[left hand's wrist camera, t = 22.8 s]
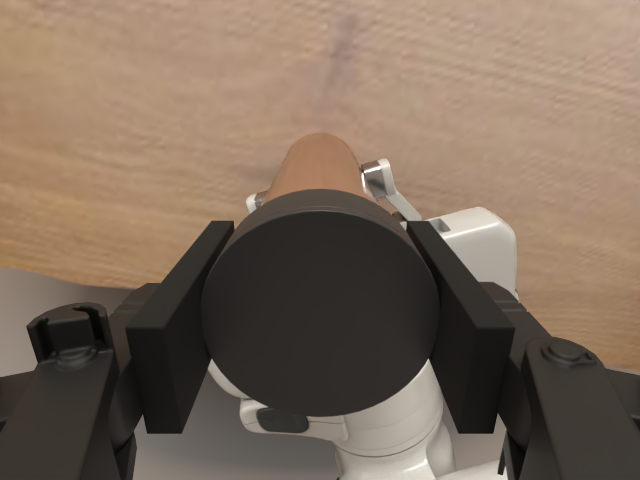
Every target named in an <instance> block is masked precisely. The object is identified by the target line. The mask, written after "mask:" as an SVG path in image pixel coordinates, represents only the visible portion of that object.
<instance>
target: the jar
mask: <svg viewBox="0 0 640 480" xmlns="http://www.w3.org/2000/svg"><path fill="white" fill-rule="evenodd" d="M307 189H333V190H340V191H344V192H349V193H353V194H355V195H358V196H361V197H364V198H366V199H368V200H370V201H372V202H374V203H376V204H377V205H379V203H378V201H377V199H376V197H375V195H374V193H373V191H372V189H371V187H370V185H369V183H368V181H367V179H366V178H365V176H364V174H363V172H362V170H361V168H360V166H359V164H358V162H357V160H356V158H355V156H354V154H353V152H352V151H351V149H350V148H349V146H348V145H347V144H346V143H345V142H344V141H342V140H341V139H339V138H338V137H336V136H333V135H330V134H326V133H315V134H310V135H307V136H305V137H303V138H301V139H299V140H298V141H297V142H296V143H294V145H293V146H292V147H291V148H290V150H289V151H288V153H287V155H286V157H285V159H284V161H283V163H282V165H281V167H280V169H279V171H278V173H277V174H276V176H275V178H274V180H273V182H272V184H271V186H270V188H269V190H268V192H267V194H266V196H265V198H264V200H263V202H262V204H261V206H262V205H263V204H265V203H266V202H268V201H270V200H272V199H275V198H277V197H279V196H282V195H285V194H288V193H291V192H295V191H301V190H307ZM379 206H380V205H379Z"/></svg>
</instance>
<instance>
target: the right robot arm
mask: <svg viewBox="0 0 640 480" xmlns="http://www.w3.org/2000/svg"><path fill="white" fill-rule="evenodd" d="M361 169H362V172H363V174H364V176H365V178H366V179H367V181H368V183H369V185H370V187H371V189H372V191H373V193H374V195H375V197H376V198H380V197H384V196H385V198H386V199H387V200H388V201H389V202H390V203H391V204H392V205H393V206H394V207H395V208H396V209H397V210H398V212H394V213H393V214H392V216H393V217H394V218H395V219H396V220H397V221H398V222H399V223H400V224H401V225H402V227H403V228H404V229H405V230H406V225H407V221H422V217H421V216H420V215H419V213H418V212H417V211H416V210H415V208H414V207H413V206H412V205H411V204H410V203H409V202H408V201H407V200H406V199H405V198H404V197H403V196H402V195H401V194H400V192H399V191H398V190H397V189H396V188H395V186H394V181H393V176H392V172H391V167H390V164H389V162H388V160H387V159H386V158H383V159H380V160H376V161H373V162H369V163H366V164H362V165H361ZM267 192H268V191H264V192H261V193H256V194H253V195H250V196H249V197H248V198H247V200H246V204H247V209H248V212H249V214H251V213H252V212H253V211H254V210H255V209H257V208H258V207H260V206H261V204H262V202H263V200H264V198H265V196H266V194H267ZM423 221H429V222H430V223H431V225H432V226H433V227H434V228H435V229H436V231H437V232H438V233H439V234H440V236H441V237H442V238H443V239H444V240H445V242H446V243H447V244H448V245H449V247H450V248H451V249H452V250H453V251H454V253H455V254H456V255H457V256H458V258H459V259H460V260H461V261H462V262H463V264H464V265H465V266H466V267H467V269H468V270H469V271H470V272H471V273H472V275H473V276H474V277H475V278H476V280H477V281H478V282H494V283H496V284H498V285H500V286H501V287H503V288H505V289H507V290H508V291H510V292H511V294H512V295H513V296H514V297H515V298H516V299H517V300H518V302H519V297H518V293H517V290H516V289H515V288H516V273H517V248H516V237H515V234H514V231H513V230H512V228H511V227H510V226H509V225H508V224H507V223H506V222H505V221H503V220H502V219H501V218H500V217H498V216H497V215H495V214H493V213H492V212H490V211H488V210H486V209H485V208H482V207H474V208H470V209H466V210H462V211H458V212H455V213H451V214H447V215H443V216H439V217H435V218H431V219H427V220H423ZM208 371H209V372H210V374H211V375H212V377H213V378H214V380H215V381H216V382H217V383H218V384H219V386H220V387H221V388H223V389H224V390H225V391H226V392H228V393H229V394H231V395H234V396H236V397H240V398H241V403H240V418H241V421H242V423H243V425H244V427H245V428H246V429H247V430H249V431H251V432H255V433H270V434H289V435H300V436H308V437H315V438H320V439H324V440H329V441H331V443H332V444H333V445H334V447H335V460H336V465H337V469H338V472H339V475H340V478H339V477H338V478H337V480H508V478H507V471H506V466H505V469H504V473H503V475H499V474H497V472H498V465H499V461H500V458H499V459H496V460H493V461H490V462H486V463H483V464H480V465H476V466H473V467H470V468H466V469H463V470H460V471H457V470H456V463H455V457H454V451H453V446H452V441H451V438H450V435H449V432H448V430H447V427H446V426H445V424H444V422H443V421H442V416H443V399H442V394H441V389H440V386H439V383H438V381H437V378H436V376H435V373H434V371H433V368H432V366H431V363H430V361H429V358H428V360H427V362H426V364H425V365H424V367H423V368H422V369H421V371H420V372H419V373H418V375H417V376H416V377H415V378H414V379H413V380H412V381H411V382H410V383H409V384H408V385H407V386H406V387H404V388H403V389H402V390H401V391H399V392H398V393H397V394H395V395H394V396H392V397H390V398H389V399H387V400H386V401H384V402H382V403H380V404H377V405H375V406H373V407H371V408H368V409H365V410H362V411H359V412H355V413H351V414H347V415H340V416H333V417H309V416H300V415H294V414H289V413H285V412H282V411H278V410H275V409H273V408H270V407H267V406H265V405H263V404H261V403H259V402H257V401H255V400H253V399H251V398H250V397H248V396H247V395H245V394H244V393H242V392H241V391H240V390H238V389H237V388H236V387H235V386H234V385H233V384H232V383H230V382H229V381H228V379H227V378H226V377H225V376H224V375H223V374H222V373H221V372H220V370H219V369H218V367H217V366H216V364H215V363H214V362H213V360H212V359H211V362H210V364H209V367H208Z"/></svg>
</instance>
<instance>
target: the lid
mask: <svg viewBox="0 0 640 480" xmlns="http://www.w3.org/2000/svg"><path fill="white" fill-rule="evenodd" d="M200 312H201V320H202V328H203V336H204V342H205V344H206V347H207V350H208V352H209V354H210V356H211V358H212V360H213V362H214V363H215V364H216V366H217V367H218V369H219V370H220V372H221V373H222V374H223V375H224V376H225V377H226V378H227V379H228V381H229V382H230V383H232V384H233V385H234V386H235V387H236V388H237V389H238V390H240V391H241V392H242V393H244V394H245V395H247V396H248V397H250V398H251V399H253V400H255V401H257V402H259V403H261V404H263V405H265V406H267V407H270V408H273V409H275V410H278V411H282V412H285V413H289V414H294V415H300V416H309V417H333V416H340V415H347V414H351V413H355V412H359V411H362V410H365V409H368V408H371V407H373V406H375V405H377V404H380V403H382V402H384V401H386V400H387V399H389V398H390V397H392V396H394V395H395V394H397V393H398V392H399V391H401V390H402V389H403V388H404V387H406V386H407V385H408V384H409V383H410V382H411V381H412V380H413V379H414V378H415V377H416V376H417V375H418V373H419V372H420V371H421V369H422V368H423V367H424V365H425V364H426V362H427V360H428V358H429V357H430V355H431V353H432V351H433V348H434V345H435V343H436V339H437V332H438V325H439V316H440V299H439V295H438V290H437V286H436V283H435V281H434V279H433V276H432V274H431V271H430V270H429V268H428V266H427V265H426V263H425V262H424V260H423V258H422V257H421V255H420V253H419V252H418V250H417V248H416V247H415V245H414V243H413V242H412V240H411V238H410V237H409V235H408V233H407V232H406V230H405V229H404V228H403V227H402V225H401V224H400V223H399V222H398V221H397V220H396V219H395V218H394V217H393V216H392V215H391V214H390V213H389V212H388V211H386V210H385V209H383V208H382V207H380V206H379V205H377V204H376V203H374V202H372V201H370V200H368V199H366V198H364V197H361V196H358V195H355V194H353V193H349V192H344V191H340V190H333V189H307V190H301V191H295V192H291V193H288V194H285V195H282V196H279V197H277V198H275V199H272V200H270V201H268V202H266V203H265V204H263V205H262V206H260V207H258V208H257V209H255V210H254V211H253V212H252V213H251V214H249V215H248V216H247V217H246V218H245V219H244V220H243V221H242V222H241V223H240V225H239V226H238V227H237V228H236V229H235V231H234V232H233V234H232V236H231V237H230V239H229V240H228V242H227V243H226V245H225V247H224V248H223V250H222V252H221V253H220V255H219V257H218V258H217V260H216V262H215V263H214V265H213V267H212V268H211V270H210V272H209V275H208V277H207V279H206V281H205V284H204V288H203V291H202V295H201V303H200Z"/></svg>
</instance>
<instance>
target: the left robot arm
mask: <svg viewBox="0 0 640 480" xmlns="http://www.w3.org/2000/svg"><path fill="white" fill-rule="evenodd" d="M233 232H234V221H211V223H210V224H209V225H208V226H207V228H206V229H205V230H204V231H203V232H202V234H201V235H200V236H199V237H198V239H197V240H196V241H195V242H194V243H193V245H192V246H191V247H190V248H189V250H188V251H187V252H186V253H185V254H184V256H183V257H182V258H181V259H180V261H179V262H178V263H177V264H176V265H175V267H174V268H173V269H172V270H171V272H170V273H169V274H168V275H167V276H166V278H165V279H164V280H163V281H162V283H147V284H145V285H143V286H142V287H140V288H138V289H136V290H135V291H133V292H131V294H130V295H129V296H128V297H127V298H126V299H125V300H124V301H123V302H122V304H121V305H119V307H118V308H117V309H116V310H115V311H114V313H112V314H111V315H110V316H109V317H108V316H107V311H106V308H105V307H103V306H102V305H100V304H96V303H90V302H88V303H75V304H70V305H65V306H61V307H58V308H55V309H53V310H50V311H47V312H45V313H43V314H42V315H40V316H38V317H36V318H34V319H33V320H32V321H31V322H30V323H29V324H28V325H27V326H26V327H27V330H28V334H29V337H30V340H31V343H32V346H33V349H34V352H35V356H36V359H37V362H38V364H37V366H36V368H35V370H34V371H30V372H25V373H20V374H15V375H10V376H5V377H0V480H132V479H133V472H134V465H135V457H136V450H137V446H136V439H135V434H134V429H135V427H136V426H137V424H138V422H139V420H140V418H141V416H142V415H143V416H144V421H145V426H146V430H147V433H148V434H181V433H182V432H183V429H184V426H185V424H186V422H187V419H188V417H189V414H190V412H191V409H192V407H193V404H194V402H195V399H196V397H197V394H198V392H199V389H200V387H201V384H202V382H203V379H204V377H205V374H206V372H207V369H208V367H209V364H210V362H211V359H212V358H211V356H210V354H209V352H208V350H207V347H206V344H205V342H204V336H203V328H202V320H201V312H200V303H201V295H202V291H203V288H204V284H205V281H206V279H207V277H208V275H209V272H210V270H211V268H212V267H213V265H214V263H215V262H216V260H217V258H218V257H219V255H220V253H221V252H222V250H223V248H224V247H225V245H226V243H227V242H228V240H229V239H230V237H231V236H232V234H233ZM406 232H407V233H408V235H409V237H410V238H411V240H412V242H413V243H414V245H415V247H416V248H417V250H418V252H419V253H420V255H421V257H422V258H423V260H424V262H425V263H426V265H427V266H428V268H429V270H430V271H431V274H432V276H433V279H434V281H435V283H436V286H437V290H438V295H439V299H440V316H439V325H438V332H437V339H436V343H435V345H434V348H433V351H432V353H431V355H430V357H429V361H430V363H431V366H432V368H433V371H434V373H435V376H436V378H437V381H438V383H439V386H440V388H441V391H442V393H443V396H444V398H445V401H446V403H447V406H448V408H449V411H450V413H451V416H452V418H453V421H454V423H455V426H456V428H457V431H458V433H460V434H461V433H462V434H493V432H494V428H495V423H496V418H497V413H498V414H499V415H500V417H501V419H502V421H503V423H504V425H505V426H506V428H507V430H506V435H505V439H504V443H503V448H502V452H501V456H500V461H499V465H498V472H497V474H499V475H503V473H504V469H505V466H506V471H507V478H508V480H640V375H635V374H629V373H624V372H619V371H614V370H610V369H606V368H605V367H604V365H603V363H602V362H601V361H600V360H599V359H598V357H597V356H596V355H595V354H594V353H592V352H591V351H589V350H588V349H586V348H585V347H583V346H581V345H578V344H576V343H574V342H571V341H569V340H565V339H561V338H557V337H552V336H551V335H550V334H549V333H548V332H547V331H546V330H545V329H544V328H543V327H542V326H541V325H540V324H539V322H538V321H537V320H536V319H535V318H534V317H533V316H532V315H531V314H530V313H529V312H527V310H526V309H525V307H524V306H523V305H522V304H521V303H519V302H518V300H517V299H516V298H515V297H514V296H513V295H512V294H511V292H510V291H508V290H507V289H505V288H503V287H501V286H500V285H498V284H496V283H494V282H478V281H477V280H476V278H475V277H474V276H473V275H472V273H471V272H470V271H469V270H468V269H467V267H466V266H465V265H464V264H463V262H462V261H461V260H460V259H459V258H458V256H457V255H456V254H455V253H454V251H453V250H452V249H451V248H450V247H449V245H448V244H447V243H446V242H445V240H444V239H443V238H442V237H441V236H440V234H439V233H438V232H437V231H436V229H435V228H434V227H433V226H432V225H431V223H430V222H429V221H407V225H406Z"/></svg>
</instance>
